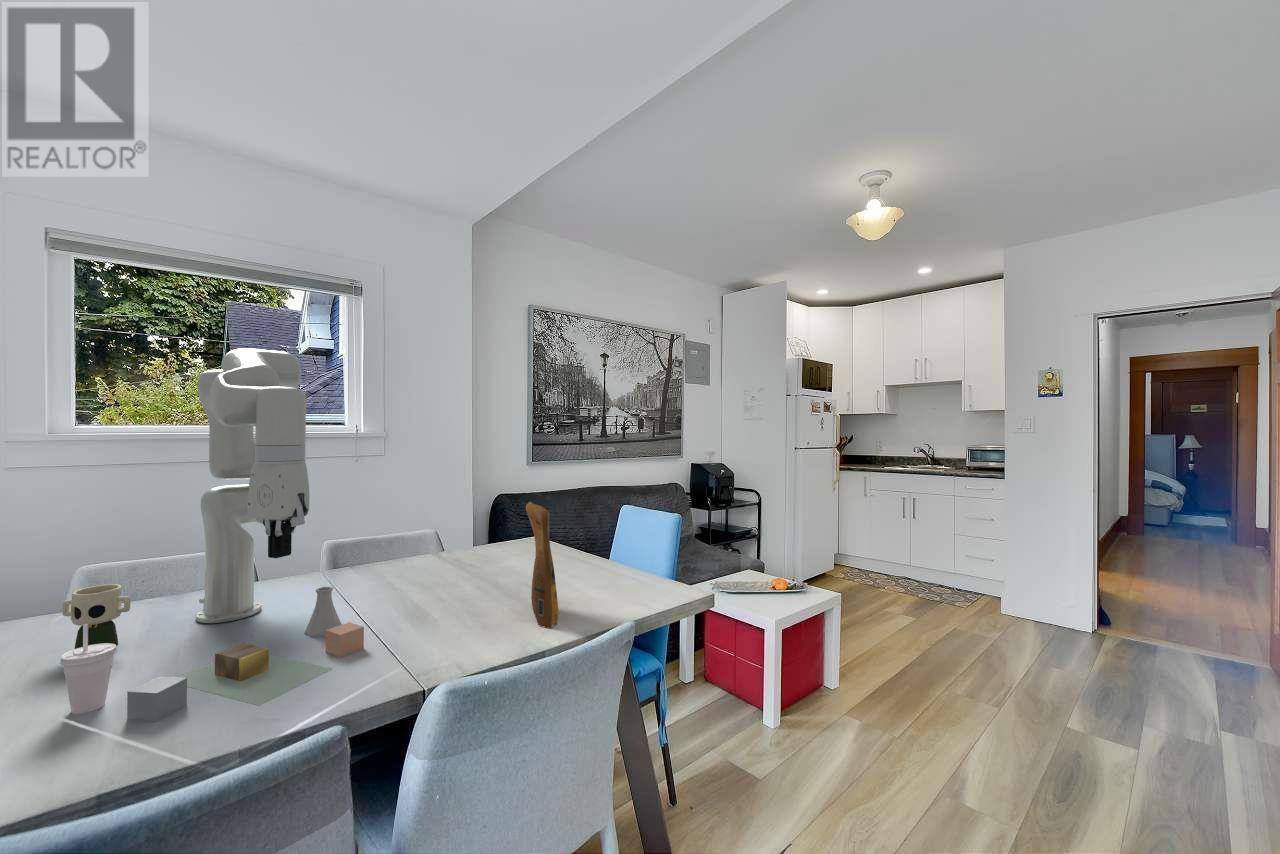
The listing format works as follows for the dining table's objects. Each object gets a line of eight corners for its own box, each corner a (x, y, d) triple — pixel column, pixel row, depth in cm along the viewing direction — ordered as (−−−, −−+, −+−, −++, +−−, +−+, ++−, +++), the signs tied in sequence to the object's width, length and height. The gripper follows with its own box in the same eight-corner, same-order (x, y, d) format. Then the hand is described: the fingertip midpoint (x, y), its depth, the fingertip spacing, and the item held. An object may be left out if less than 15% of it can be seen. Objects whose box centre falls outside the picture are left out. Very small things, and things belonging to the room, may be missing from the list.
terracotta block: (325, 654, 107) (325, 630, 107) (349, 645, 112) (349, 622, 112) (340, 659, 105) (340, 635, 105) (363, 650, 109) (363, 626, 109)
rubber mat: (165, 682, 95) (165, 680, 95) (245, 651, 108) (245, 649, 108) (258, 707, 87) (258, 705, 87) (333, 670, 100) (333, 668, 100)
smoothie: (86, 700, 88) (87, 617, 88) (127, 699, 89) (128, 616, 89) (46, 721, 82) (47, 632, 82) (90, 720, 83) (91, 631, 83)
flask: (325, 640, 114) (325, 594, 114) (296, 637, 115) (297, 592, 115) (349, 628, 121) (350, 584, 121) (322, 625, 122) (323, 582, 122)
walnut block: (241, 681, 95) (214, 675, 97) (268, 669, 99) (242, 663, 102) (241, 659, 95) (215, 653, 97) (268, 648, 99) (243, 643, 102)
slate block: (127, 723, 82) (127, 691, 82) (158, 706, 87) (159, 676, 87) (156, 725, 82) (157, 693, 82) (186, 707, 87) (186, 677, 87)
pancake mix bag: (533, 633, 119) (534, 510, 119) (524, 605, 137) (525, 499, 137) (562, 630, 121) (564, 509, 121) (549, 603, 139) (551, 498, 139)
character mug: (48, 663, 101) (48, 596, 101) (75, 648, 108) (76, 586, 108) (118, 657, 104) (118, 592, 104) (140, 643, 111) (141, 582, 111)
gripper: (230, 455, 94) (229, 557, 94) (290, 457, 89) (289, 565, 89) (271, 453, 101) (270, 548, 101) (330, 455, 96) (329, 555, 96)
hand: (279, 556), depth 95 cm, fingers closed
